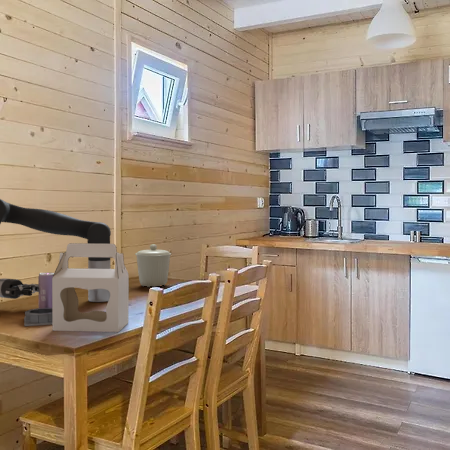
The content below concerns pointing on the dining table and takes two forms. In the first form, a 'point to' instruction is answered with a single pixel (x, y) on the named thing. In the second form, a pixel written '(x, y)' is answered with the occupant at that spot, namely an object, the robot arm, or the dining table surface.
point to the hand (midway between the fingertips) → (39, 291)
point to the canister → (153, 266)
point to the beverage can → (45, 290)
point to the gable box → (89, 279)
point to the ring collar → (38, 317)
